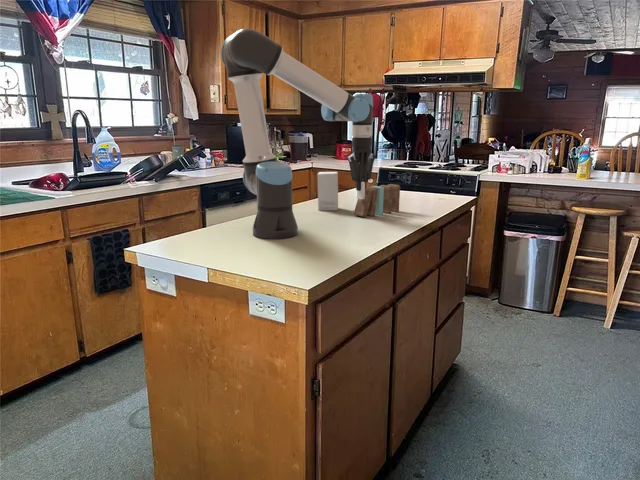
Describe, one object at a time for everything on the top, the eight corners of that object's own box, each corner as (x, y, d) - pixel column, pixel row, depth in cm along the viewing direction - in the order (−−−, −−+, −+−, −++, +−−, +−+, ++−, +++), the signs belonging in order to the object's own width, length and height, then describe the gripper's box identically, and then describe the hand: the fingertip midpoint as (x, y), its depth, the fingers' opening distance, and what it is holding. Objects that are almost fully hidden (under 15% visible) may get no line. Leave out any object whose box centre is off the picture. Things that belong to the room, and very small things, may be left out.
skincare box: (338, 208, 204) (338, 171, 200) (337, 211, 198) (337, 173, 194) (318, 207, 205) (318, 171, 201) (317, 210, 199) (317, 173, 195)
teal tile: (378, 215, 190) (379, 187, 187) (370, 213, 194) (371, 186, 191) (382, 214, 191) (383, 187, 188) (374, 212, 195) (375, 185, 192)
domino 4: (395, 212, 195) (396, 185, 193) (386, 210, 199) (387, 184, 196) (398, 211, 197) (400, 185, 194) (390, 209, 201) (391, 183, 198)
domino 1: (362, 216, 184) (369, 188, 184) (353, 214, 188) (361, 187, 188) (365, 217, 186) (373, 190, 185) (357, 215, 190) (364, 188, 189)
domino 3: (387, 213, 193) (388, 186, 190) (378, 211, 196) (379, 185, 194) (391, 213, 194) (392, 186, 191) (382, 211, 198) (383, 184, 195)
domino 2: (370, 216, 187) (374, 188, 185) (362, 214, 191) (365, 186, 189) (374, 216, 189) (378, 188, 187) (366, 214, 192) (369, 186, 190)
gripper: (355, 137, 173) (354, 202, 179) (381, 136, 180) (379, 198, 186) (342, 136, 178) (341, 199, 185) (368, 135, 186) (366, 195, 192)
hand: (360, 198), depth 185 cm, fingers closed
